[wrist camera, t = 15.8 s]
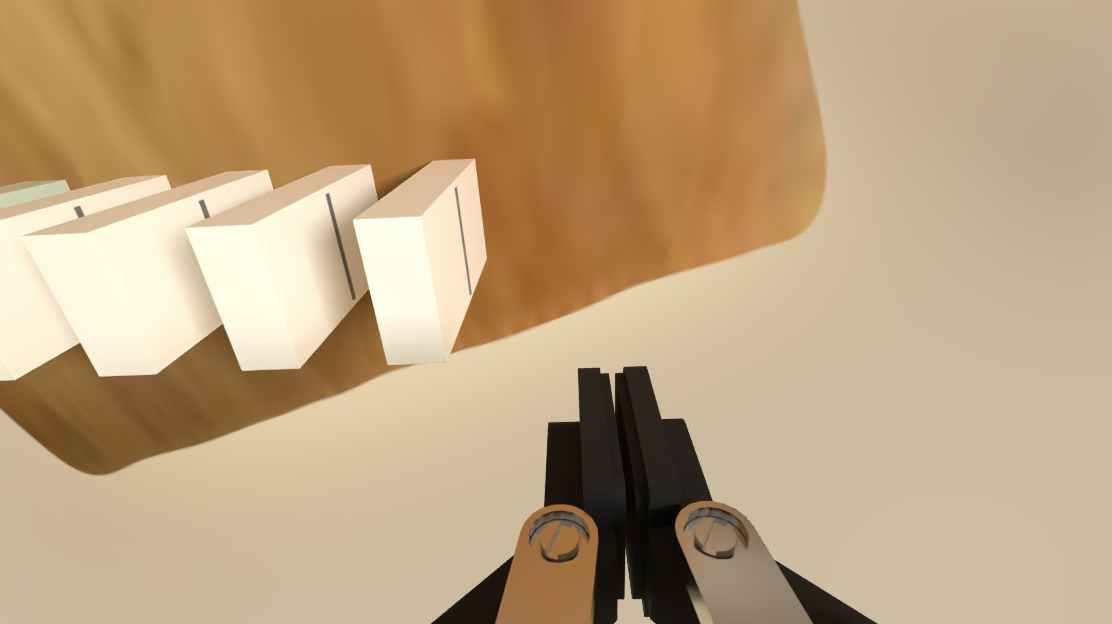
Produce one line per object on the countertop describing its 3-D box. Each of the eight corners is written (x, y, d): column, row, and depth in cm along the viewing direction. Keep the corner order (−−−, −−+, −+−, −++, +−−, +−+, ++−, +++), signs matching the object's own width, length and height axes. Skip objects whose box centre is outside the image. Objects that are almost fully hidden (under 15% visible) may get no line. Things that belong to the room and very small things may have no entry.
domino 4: (475, 158, 28) (422, 216, 17) (487, 258, 30) (447, 362, 20) (431, 160, 28) (351, 219, 17) (447, 260, 30) (386, 365, 20)
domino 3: (371, 164, 28) (252, 224, 17) (392, 262, 31) (300, 368, 20) (328, 166, 28) (183, 227, 17) (352, 264, 31) (240, 370, 20)
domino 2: (268, 169, 28) (87, 232, 17) (297, 267, 31) (157, 374, 20) (225, 171, 28) (19, 236, 17) (259, 268, 31) (98, 376, 20)
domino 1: (166, 175, 28) (-75, 240, 18) (204, 271, 31) (16, 379, 20) (124, 177, 28) (-142, 244, 18) (166, 273, 31) (-43, 382, 20)
